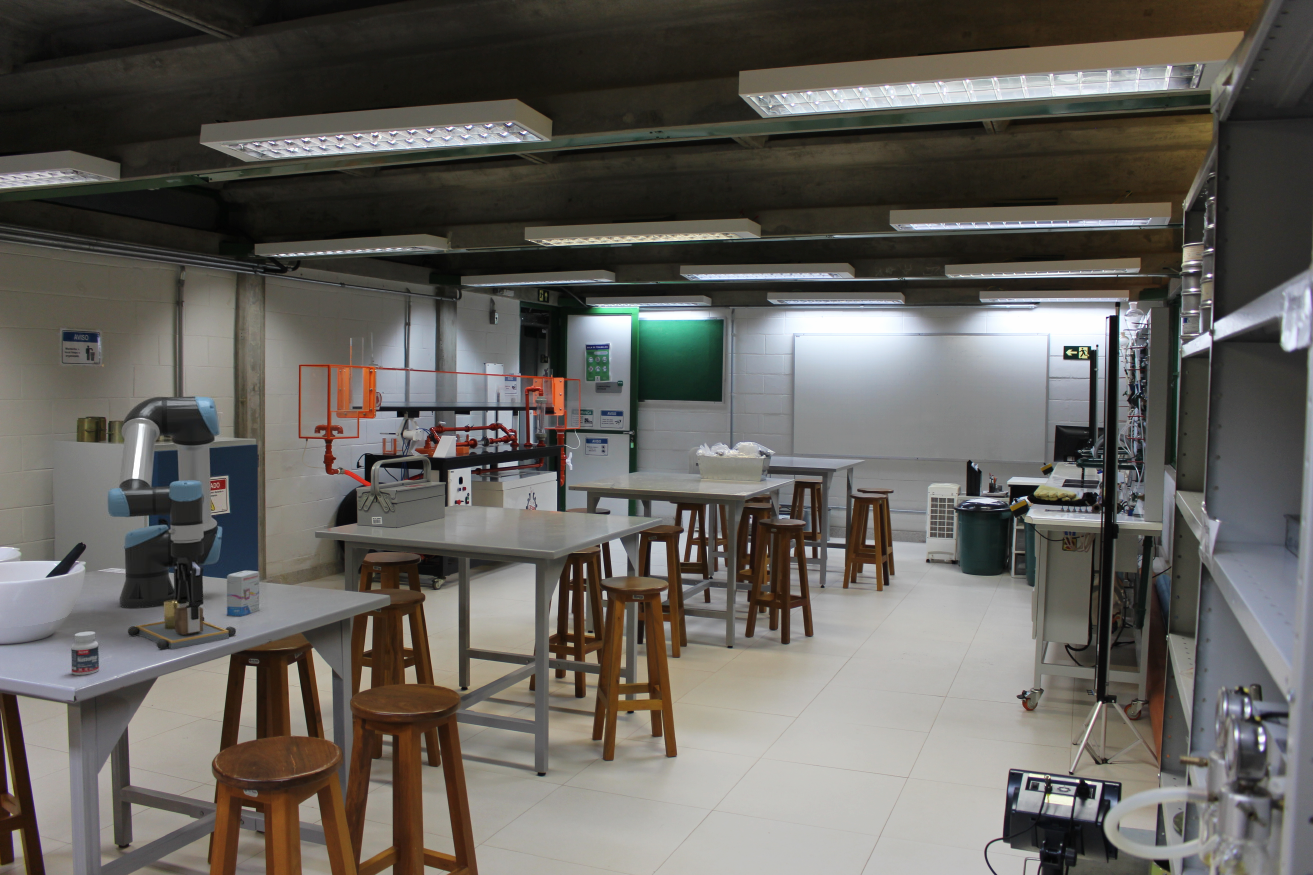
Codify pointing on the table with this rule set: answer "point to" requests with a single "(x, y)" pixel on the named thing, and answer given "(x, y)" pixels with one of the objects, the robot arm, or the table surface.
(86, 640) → the pill bottle
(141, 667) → the table surface
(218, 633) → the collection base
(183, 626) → the walnut block
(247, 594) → the ink box
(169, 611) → the cylinder
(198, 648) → the table surface
